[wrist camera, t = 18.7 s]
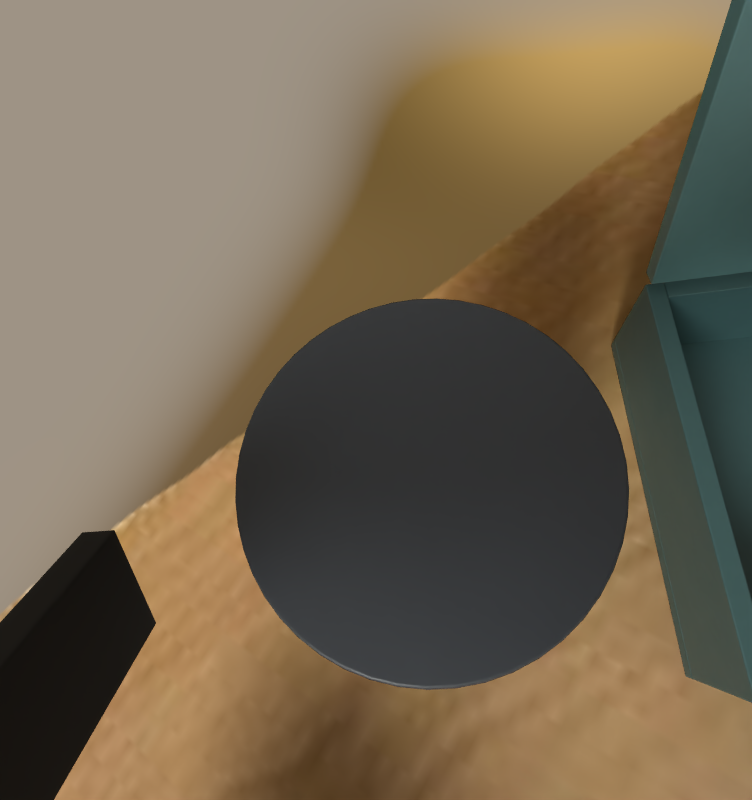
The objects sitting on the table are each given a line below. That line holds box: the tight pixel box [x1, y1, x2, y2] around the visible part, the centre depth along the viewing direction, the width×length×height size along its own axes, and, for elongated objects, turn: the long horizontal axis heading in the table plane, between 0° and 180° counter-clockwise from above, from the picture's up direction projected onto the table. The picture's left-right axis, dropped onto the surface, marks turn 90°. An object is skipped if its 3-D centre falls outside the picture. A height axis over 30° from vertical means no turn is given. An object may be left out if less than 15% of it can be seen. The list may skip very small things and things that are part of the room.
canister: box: [236, 299, 629, 690], centre depth 20 cm, size 9×9×16 cm
